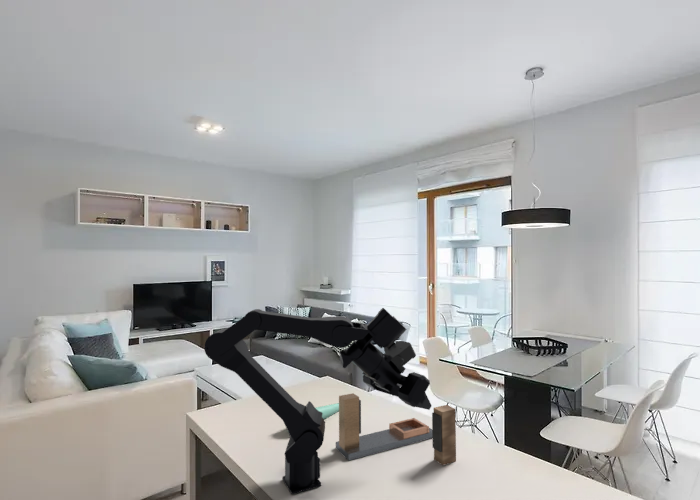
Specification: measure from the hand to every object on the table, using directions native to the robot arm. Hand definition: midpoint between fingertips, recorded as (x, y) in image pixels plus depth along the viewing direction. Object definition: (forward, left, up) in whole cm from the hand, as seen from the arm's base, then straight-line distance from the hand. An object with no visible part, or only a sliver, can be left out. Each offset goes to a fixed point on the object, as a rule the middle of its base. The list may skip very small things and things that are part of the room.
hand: (416, 401), depth 88 cm
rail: (0, +13, -15) cm, 20 cm away
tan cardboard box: (+7, -1, -15) cm, 16 cm away
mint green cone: (-7, +36, -15) cm, 40 cm away
